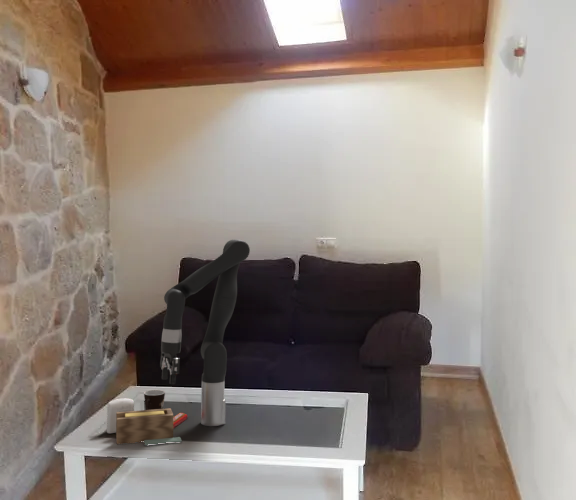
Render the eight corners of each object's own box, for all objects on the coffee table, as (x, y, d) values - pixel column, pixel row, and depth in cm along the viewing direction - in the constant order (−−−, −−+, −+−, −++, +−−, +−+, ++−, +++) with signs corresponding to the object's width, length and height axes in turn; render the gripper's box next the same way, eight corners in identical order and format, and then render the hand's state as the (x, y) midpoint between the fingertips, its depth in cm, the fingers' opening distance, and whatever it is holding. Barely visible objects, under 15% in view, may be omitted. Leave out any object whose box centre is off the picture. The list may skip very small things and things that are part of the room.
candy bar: (171, 431, 221) (171, 423, 221) (162, 430, 222) (163, 422, 222) (189, 418, 237) (189, 411, 237) (180, 418, 238) (181, 410, 238)
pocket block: (170, 431, 220) (170, 408, 220) (173, 439, 211) (173, 415, 211) (116, 436, 213) (116, 412, 213) (116, 444, 205) (117, 419, 205)
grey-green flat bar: (180, 439, 211) (180, 437, 211) (181, 442, 208) (181, 440, 208) (144, 442, 207) (144, 440, 207) (144, 446, 204) (144, 443, 204)
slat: (163, 418, 216) (163, 410, 216) (164, 421, 212) (164, 413, 212) (124, 421, 212) (125, 413, 212) (125, 424, 208) (125, 416, 208)
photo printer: (131, 427, 224) (132, 395, 224) (135, 430, 221) (135, 398, 220) (105, 431, 218) (105, 399, 218) (108, 434, 215) (108, 402, 215)
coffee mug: (155, 412, 244) (155, 388, 244) (169, 415, 239) (169, 392, 239) (133, 418, 235) (133, 394, 235) (147, 422, 230) (147, 398, 230)
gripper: (187, 343, 219) (184, 385, 219) (173, 337, 231) (170, 377, 231) (169, 343, 215) (165, 386, 215) (155, 337, 227) (152, 378, 227)
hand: (168, 381), depth 223 cm, fingers open, 8 cm apart
